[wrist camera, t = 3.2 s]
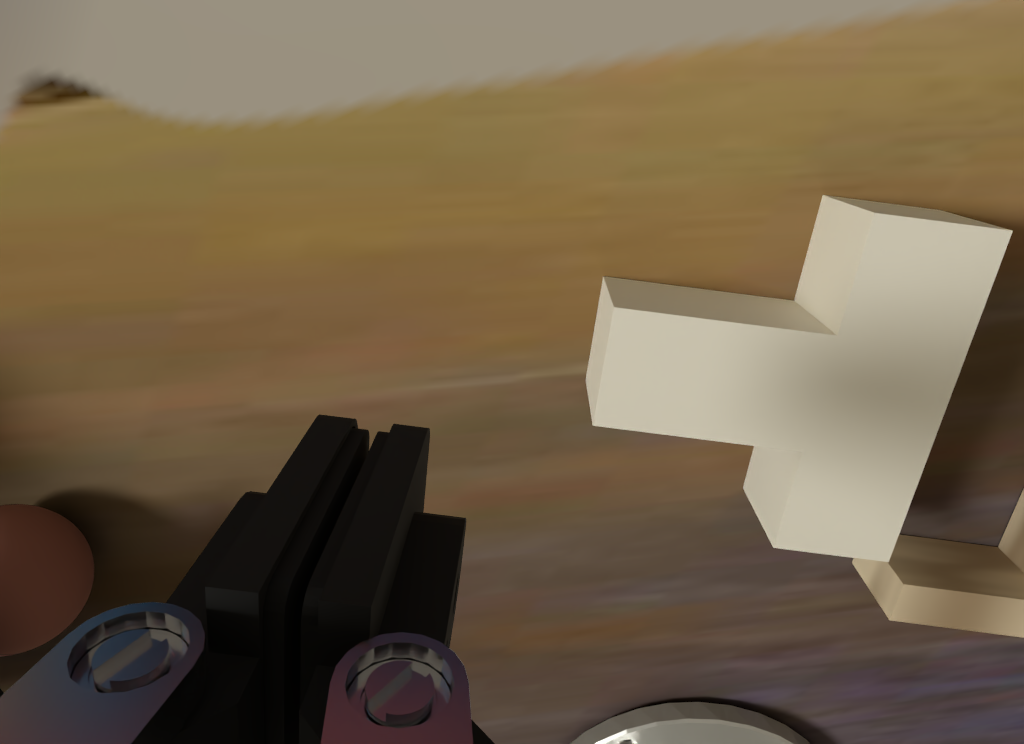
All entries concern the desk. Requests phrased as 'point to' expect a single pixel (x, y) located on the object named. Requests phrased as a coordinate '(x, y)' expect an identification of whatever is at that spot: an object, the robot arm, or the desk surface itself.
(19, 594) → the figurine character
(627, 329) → the t block
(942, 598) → the corner stop
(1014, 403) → the desk surface
